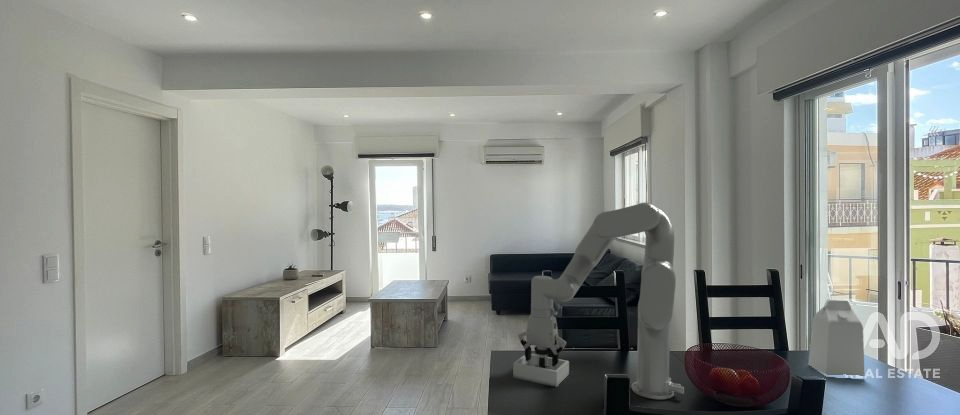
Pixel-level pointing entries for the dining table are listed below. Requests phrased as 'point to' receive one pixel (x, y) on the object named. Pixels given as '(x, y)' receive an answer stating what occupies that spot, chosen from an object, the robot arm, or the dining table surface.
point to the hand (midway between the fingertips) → (541, 362)
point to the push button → (542, 356)
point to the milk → (837, 340)
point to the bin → (540, 371)
